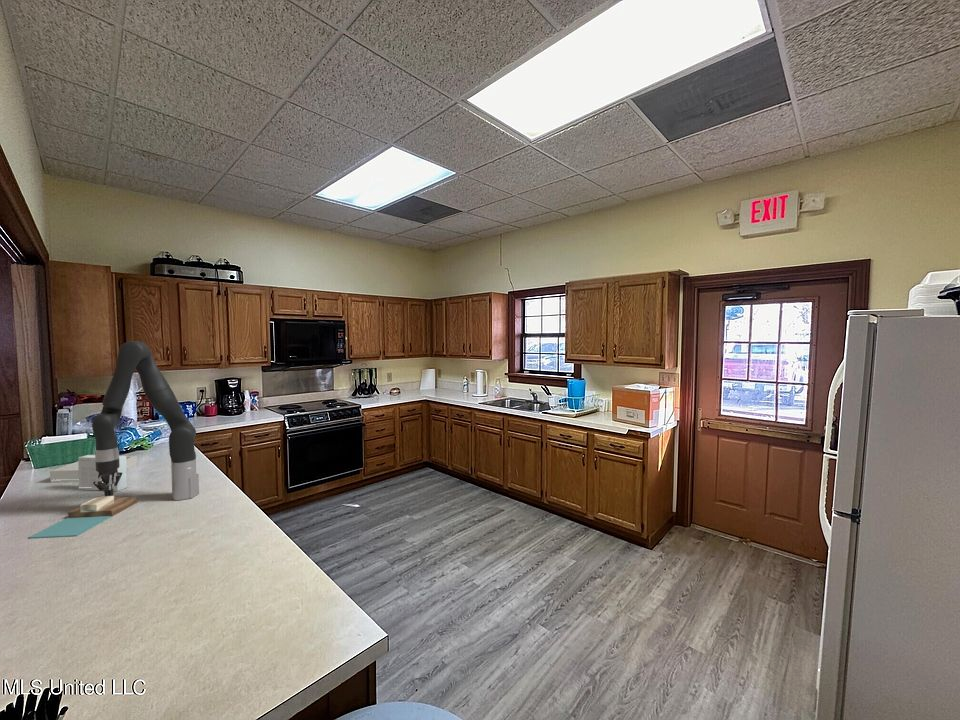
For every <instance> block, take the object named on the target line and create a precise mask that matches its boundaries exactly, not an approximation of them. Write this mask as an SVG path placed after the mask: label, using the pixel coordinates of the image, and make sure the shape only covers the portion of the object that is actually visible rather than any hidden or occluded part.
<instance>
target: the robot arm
mask: <svg viewBox="0 0 960 720" xmlns="http://www.w3.org/2000/svg"><path fill="white" fill-rule="evenodd" d="M116 359H117V360H116V364H115V369H114V372H113V374H112V378H111V380H110V382H109V386H108V387H107V390H106V392H105V395H104V398H103V399H102V403H101V404H102V409H101V411H100V414H98V415H96V416H94V418H93V420H92V421H91V428H92V432H93V436H94V439H95V452H94V453H95V454H94V455H95V463H96V471H97V472H99V475H98V480H97V481H94V482H93V484H94V485H95V486H96V487H97V488H98V489H99V490H98V491H102V490H104V491H103V492H104V493H103V494H104V495H103V496H114V491H113V489H114V486H117V484H118V482H119V480H120V478H121V476H122V472H118V468H119V467H120V465H119V456H120V451H119V439H118V436H117V434H115V426H117V424H119V421H120V419H121V416H122V412H123V407H124V405H125V402H126V400H127V398H128V395H129V393H130V389H131V386H132V385H131V384H132V383H131V382H132V378H133V375H134V372H135V370H136V371H137V373H138V376H139V379H140V383H141V386H142V390H143V394H144V395H145V397H146V399H147V400H148V401H149V403H150V405H151V406H152V407H153V409H155V411H156V412H157V413H158V414H160V416H161V417H163V419H164V420H165V422H166V423H167V424H168V427H169V429H170V433H169V435H168V436H169V437H168V447H169V448H168V450H169V457H170V461H171V462H170V464H171V465H170V468H171V497H172V500H173V501H183V500H189V499H193V498H195V497H196V496H197V495H199V494H200V481H199V480H200V479H199V475H200V474H199V473H197V453H196V451H195V438H196V436H197V430H196V428H195V426H194V425H193V423H191V421H190V420H189V419H188V417H187V416H186V414H185V412H184V411H183V409H182V406H181V405H180V403H179V401H178V399H177V397H176V395H175V393H174V391H173V389H172V388H171V386H170V385H169V383H168V381H167V379H166V378H165V376H164V375H163V374H162V372H161V371H160V369H159V367H158V365H157V363H156V361H155V358H154V357H153V354H152V351H151V349H150V348H149V346H148V344H146V343H145V342H142V341H139V340H138V341H136V340H135V341H134V340H132V341H131V340H130V341H127V342H124V343H122V344H121V345H120V346H119V349H118V353H117V358H116Z"/></svg>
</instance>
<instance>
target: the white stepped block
mask: <svg viewBox="0 0 960 720" xmlns="http://www.w3.org/2000/svg"><path fill="white" fill-rule="evenodd" d="M125 456H126V464H127V468H128V469H127V472H128V471H129V470H132V469H134V468H136V467H138V455H125ZM136 464H137V465H136ZM134 465H135V466H134ZM132 466H133V467H132ZM129 467H130V468H129ZM76 468H78V460H77V461H75V462H73V463H69V464H67V465H63V466H60V467H58V468H55V469H52V470H50V471H49V475H50V476H49V479H50V480H53V479H55V480H56V479H79V477H78V469H76ZM50 483H51V484H52V483H54V484H55V483H56V484H57V483H79V480H61V481H50Z"/></svg>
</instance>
